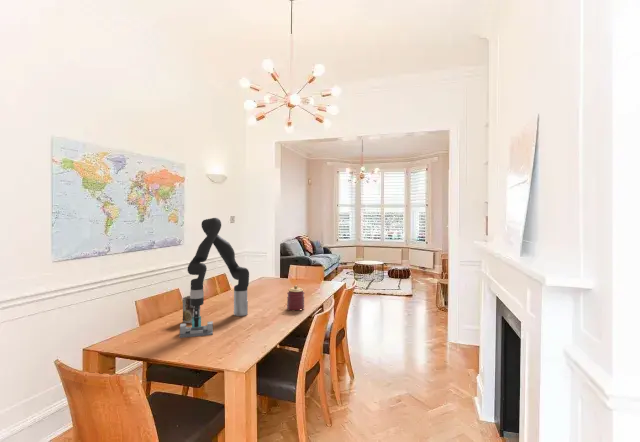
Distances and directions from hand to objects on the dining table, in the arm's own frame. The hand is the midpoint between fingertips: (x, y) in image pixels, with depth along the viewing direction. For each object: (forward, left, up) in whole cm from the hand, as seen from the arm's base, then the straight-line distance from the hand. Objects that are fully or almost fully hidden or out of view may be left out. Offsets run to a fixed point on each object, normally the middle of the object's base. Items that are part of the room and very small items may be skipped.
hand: (196, 325), depth 200 cm
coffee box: (+4, -23, -5) cm, 24 cm away
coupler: (0, 0, 0) cm, 0 cm away
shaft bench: (0, 0, -5) cm, 5 cm away
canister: (-69, -35, -5) cm, 78 cm away
